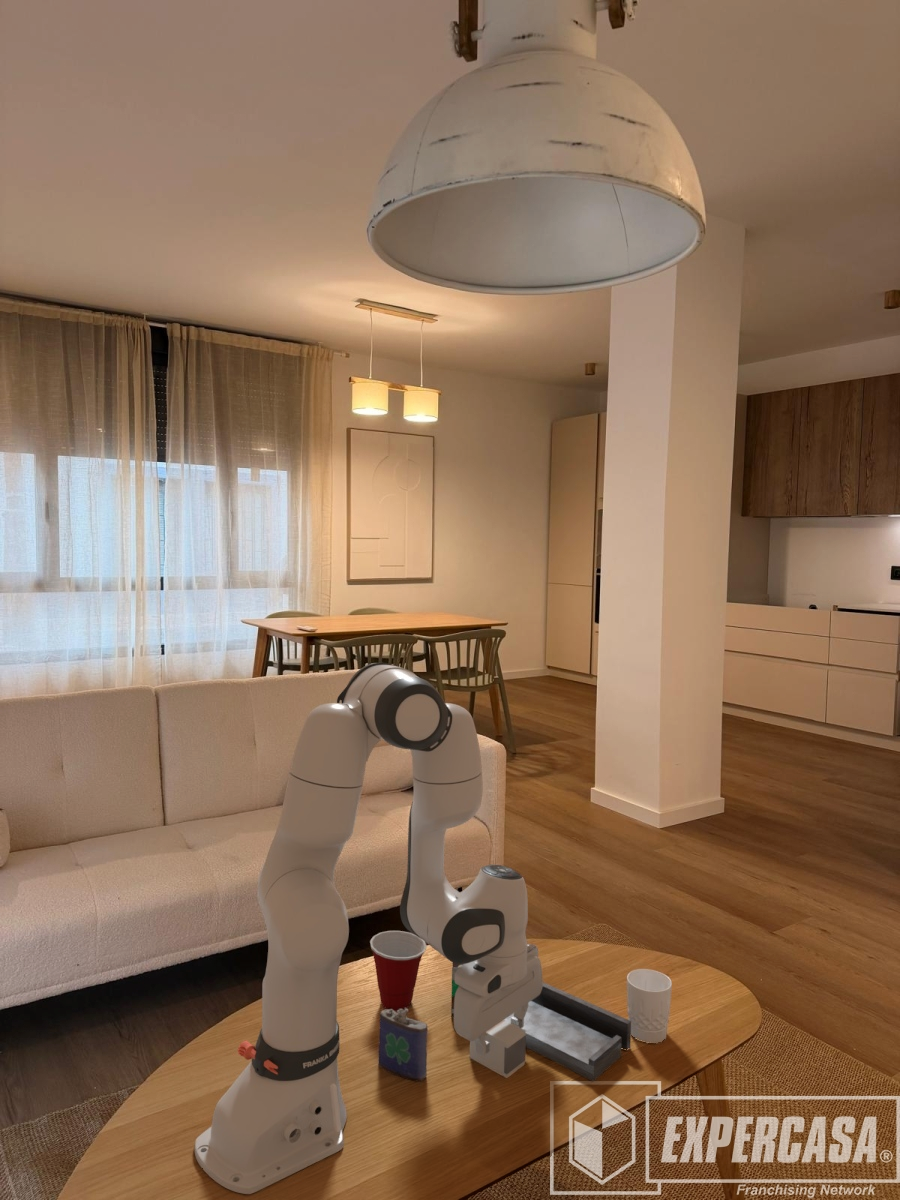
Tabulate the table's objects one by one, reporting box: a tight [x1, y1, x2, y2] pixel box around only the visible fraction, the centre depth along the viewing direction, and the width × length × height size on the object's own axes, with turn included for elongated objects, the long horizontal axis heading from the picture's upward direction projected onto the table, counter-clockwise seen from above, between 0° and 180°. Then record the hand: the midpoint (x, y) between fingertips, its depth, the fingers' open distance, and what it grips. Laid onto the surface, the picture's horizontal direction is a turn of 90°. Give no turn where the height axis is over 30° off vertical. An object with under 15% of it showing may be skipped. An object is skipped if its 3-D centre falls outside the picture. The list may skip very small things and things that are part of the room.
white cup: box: [626, 968, 673, 1044], centre depth 148 cm, size 8×8×10 cm
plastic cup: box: [369, 930, 427, 1012], centre depth 156 cm, size 11×11×12 cm
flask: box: [378, 1008, 429, 1083], centre depth 136 cm, size 9×3×11 cm, turn 59°
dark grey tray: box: [504, 982, 632, 1082], centre depth 146 cm, size 12×22×5 cm, turn 49°
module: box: [469, 1020, 527, 1079], centre depth 139 cm, size 5×8×6 cm, turn 49°
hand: (500, 1040), depth 139 cm, fingers open, 8 cm apart
